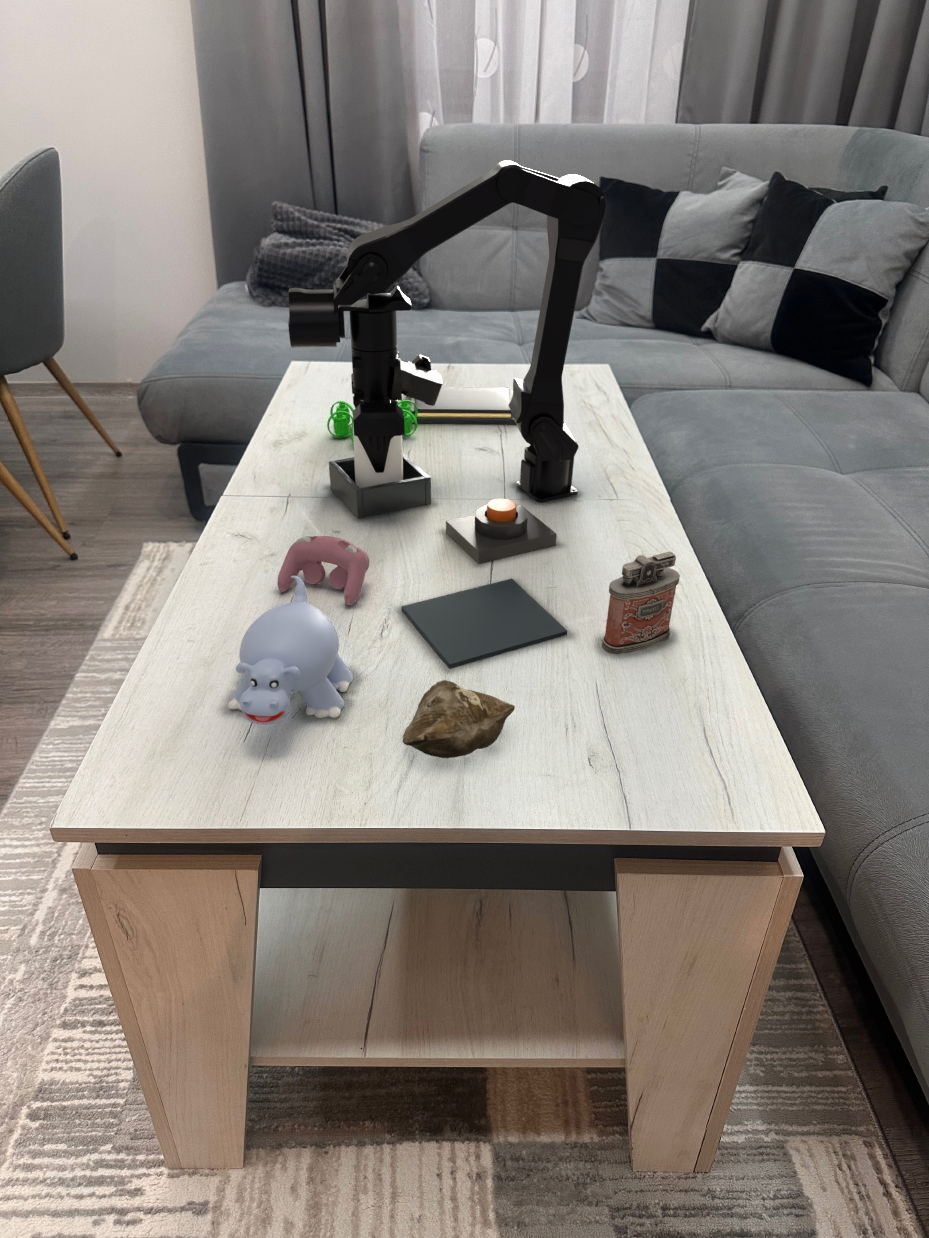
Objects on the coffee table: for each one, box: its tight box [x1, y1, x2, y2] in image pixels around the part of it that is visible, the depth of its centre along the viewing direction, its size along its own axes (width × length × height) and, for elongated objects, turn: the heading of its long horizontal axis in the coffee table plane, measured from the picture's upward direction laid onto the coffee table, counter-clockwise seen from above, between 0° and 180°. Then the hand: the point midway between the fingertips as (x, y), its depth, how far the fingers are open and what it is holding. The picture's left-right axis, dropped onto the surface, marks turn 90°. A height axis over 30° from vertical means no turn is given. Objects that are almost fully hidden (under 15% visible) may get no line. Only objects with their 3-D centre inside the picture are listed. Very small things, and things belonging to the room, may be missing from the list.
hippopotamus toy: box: [227, 575, 354, 726], centre depth 81 cm, size 11×15×10 cm
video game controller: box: [277, 535, 370, 606], centre depth 99 cm, size 10×5×7 cm, turn 71°
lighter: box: [601, 550, 681, 656], centre depth 90 cm, size 8×3×10 cm, turn 118°
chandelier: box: [326, 399, 418, 444], centre depth 139 cm, size 15×15×7 cm
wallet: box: [405, 386, 517, 425], centre depth 150 cm, size 20×2×15 cm
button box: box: [445, 504, 558, 565], centre depth 110 cm, size 11×9×4 cm
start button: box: [486, 498, 517, 522], centre depth 109 cm, size 4×4×2 cm
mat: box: [401, 578, 568, 670], centre depth 95 cm, size 14×12×1 cm
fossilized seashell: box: [402, 679, 516, 759], centre depth 78 cm, size 8×7×10 cm
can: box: [352, 426, 403, 488], centre depth 118 cm, size 6×6×12 cm
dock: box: [328, 451, 432, 520], centre depth 120 cm, size 11×11×4 cm
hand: (378, 462), depth 118 cm, fingers closed on can, 6 cm apart
